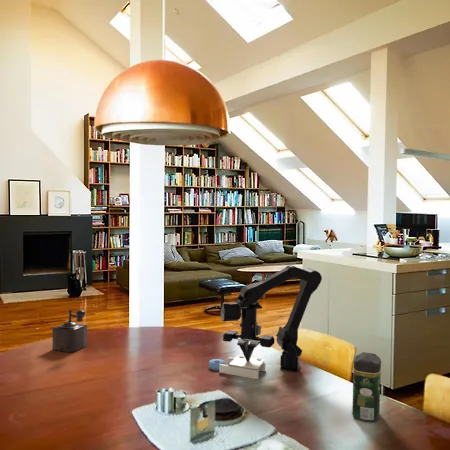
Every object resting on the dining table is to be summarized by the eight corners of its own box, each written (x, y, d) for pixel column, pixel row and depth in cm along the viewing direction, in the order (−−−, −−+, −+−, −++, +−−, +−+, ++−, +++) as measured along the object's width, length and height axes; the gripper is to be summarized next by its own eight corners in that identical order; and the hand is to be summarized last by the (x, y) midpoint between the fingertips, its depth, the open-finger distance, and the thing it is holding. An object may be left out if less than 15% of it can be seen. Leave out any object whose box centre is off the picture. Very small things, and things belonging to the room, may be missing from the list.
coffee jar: (354, 406, 151) (356, 348, 150) (380, 411, 148) (382, 352, 147) (349, 419, 142) (351, 358, 141) (377, 424, 139) (380, 362, 138)
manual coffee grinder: (50, 350, 200) (50, 307, 199) (67, 342, 210) (67, 302, 209) (81, 355, 194) (81, 311, 193) (97, 347, 205) (97, 305, 203)
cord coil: (227, 366, 185) (227, 359, 185) (220, 371, 180) (221, 364, 179) (212, 364, 187) (213, 357, 187) (206, 369, 182) (206, 362, 182)
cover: (264, 361, 181) (264, 359, 181) (257, 370, 173) (257, 367, 173) (237, 357, 185) (237, 354, 185) (228, 365, 177) (228, 363, 177)
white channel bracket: (265, 370, 181) (265, 361, 181) (257, 379, 172) (257, 369, 172) (228, 364, 187) (228, 356, 186) (219, 372, 178) (219, 363, 178)
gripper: (279, 317, 183) (278, 357, 184) (233, 312, 190) (232, 350, 191) (270, 325, 172) (269, 367, 173) (222, 319, 179) (221, 359, 181)
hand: (248, 360), depth 180 cm, fingers closed, pressing on cover
